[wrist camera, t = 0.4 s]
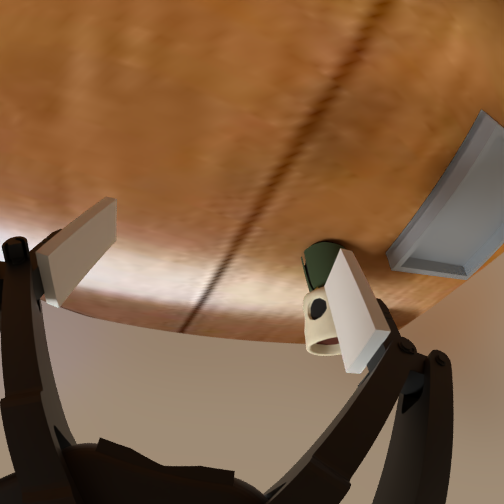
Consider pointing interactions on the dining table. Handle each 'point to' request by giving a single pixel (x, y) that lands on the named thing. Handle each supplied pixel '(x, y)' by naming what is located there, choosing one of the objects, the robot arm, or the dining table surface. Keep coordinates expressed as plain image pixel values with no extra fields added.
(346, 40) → the dining table surface
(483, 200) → the tray
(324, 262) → the character mug
